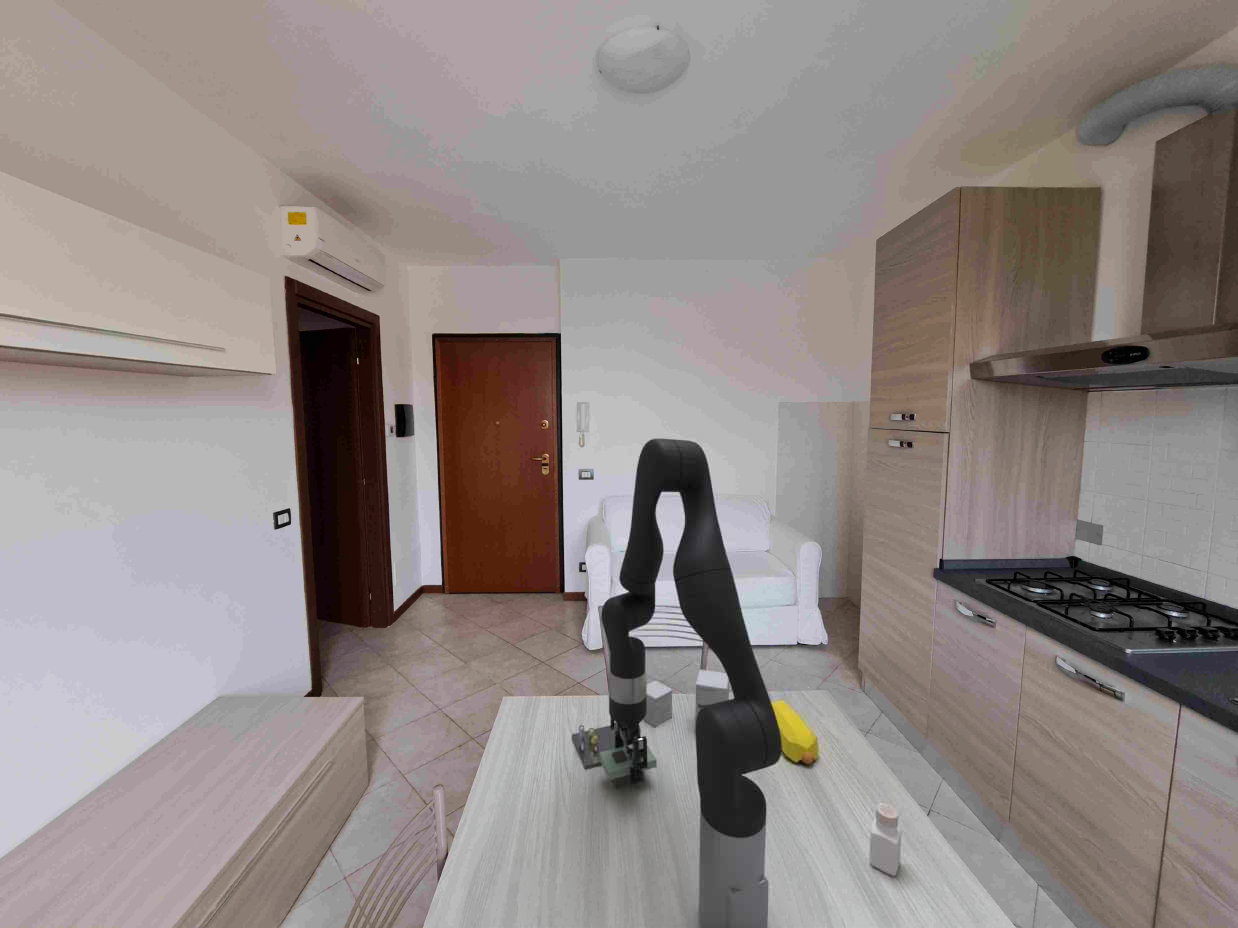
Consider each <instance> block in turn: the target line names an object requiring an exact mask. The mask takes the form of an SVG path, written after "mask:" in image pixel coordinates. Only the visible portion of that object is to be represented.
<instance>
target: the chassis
mask: <svg viewBox="0 0 1238 928" xmlns="http://www.w3.org/2000/svg"><path fill="white" fill-rule="evenodd" d="M613 731H614V730H611V728H610V725H606V726H602V727H597V728H594V727H590V728H589V729H588V730H585V726H584V725H583V724H582V725H579V726H578V732H576V733H573V734H571V739H572V741H573V744H574V746H575V749H576V751H577V753H578V755H579V758H580V760H581V762H582V764H583V768H584V769H585V770H588V769H592V768H595V767H599V766H600V767H601V766H602V764H601V762H600V752H604V751H608V750H612V749H615V738H614V736H613Z"/></svg>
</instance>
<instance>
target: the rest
mask: <svg viewBox="0 0 1238 928" xmlns="http://www.w3.org/2000/svg"><path fill="white" fill-rule="evenodd" d="M644 782H645V770H644V771H642V781H641V782H640V783H637V784H634V785H632V784H631V782H630V775H626V776H622V777H619V778H615V779H612V780H611V783H612V786H613V787H614V789H615V790H616V791H617V790H622V789H624V788H628V787H633V786H636V785H639V784H642V783H644Z"/></svg>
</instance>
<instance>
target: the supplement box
mask: <svg viewBox="0 0 1238 928" xmlns="http://www.w3.org/2000/svg"><path fill="white" fill-rule="evenodd" d="M729 697H730V682H729V679H728V676H727V674H726V672H719V671H713V670H706V669H699V670H698V674H697V679H696V683H695V708H694V709H695V710H694V711H695V715H694V719H695V721H694V735H695V736H696V719H697V715H698V713H699V711H700V709H701V708H702V707H704V706H706V705H709V704H714V703H718V702H722V701H726V700H730V699H729Z"/></svg>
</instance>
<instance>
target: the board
mask: <svg viewBox="0 0 1238 928" xmlns="http://www.w3.org/2000/svg"><path fill="white" fill-rule="evenodd" d="M628 747H629V748H630V749H631V748H633V746H632V745H628ZM632 755H633V753H632ZM657 761H658V760H657V757H656V756H655V755H654V753H653V752H652V750H651V748H650V747H649V745H647V765H648V767H647V768H644V769H642V771H644V772H645V771H648V770H652V769H655V768H657V764H658V763H657ZM600 762H601V764H602V765H601V766H602V768H603V770H604V772H605V774H606V776H607V778H608V780H609V781H612V779H615V778H619V777H622V776H626V775H630V761H629V756H628V754H626V753H625V749H624V747H620V748H616V749H612V750H608V751H604V752H600Z"/></svg>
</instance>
